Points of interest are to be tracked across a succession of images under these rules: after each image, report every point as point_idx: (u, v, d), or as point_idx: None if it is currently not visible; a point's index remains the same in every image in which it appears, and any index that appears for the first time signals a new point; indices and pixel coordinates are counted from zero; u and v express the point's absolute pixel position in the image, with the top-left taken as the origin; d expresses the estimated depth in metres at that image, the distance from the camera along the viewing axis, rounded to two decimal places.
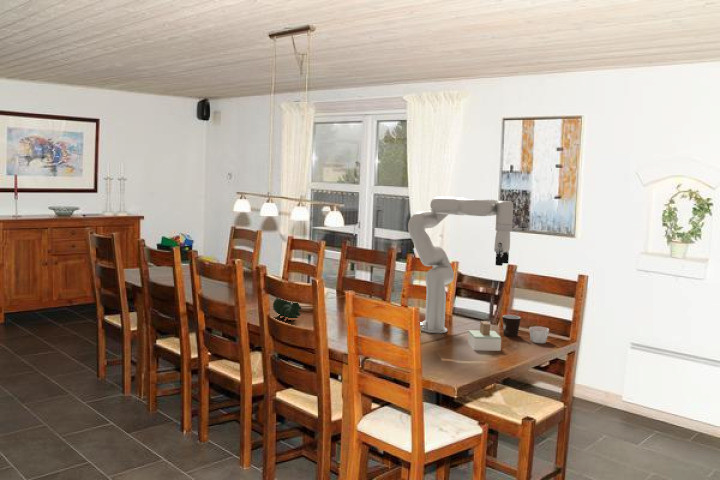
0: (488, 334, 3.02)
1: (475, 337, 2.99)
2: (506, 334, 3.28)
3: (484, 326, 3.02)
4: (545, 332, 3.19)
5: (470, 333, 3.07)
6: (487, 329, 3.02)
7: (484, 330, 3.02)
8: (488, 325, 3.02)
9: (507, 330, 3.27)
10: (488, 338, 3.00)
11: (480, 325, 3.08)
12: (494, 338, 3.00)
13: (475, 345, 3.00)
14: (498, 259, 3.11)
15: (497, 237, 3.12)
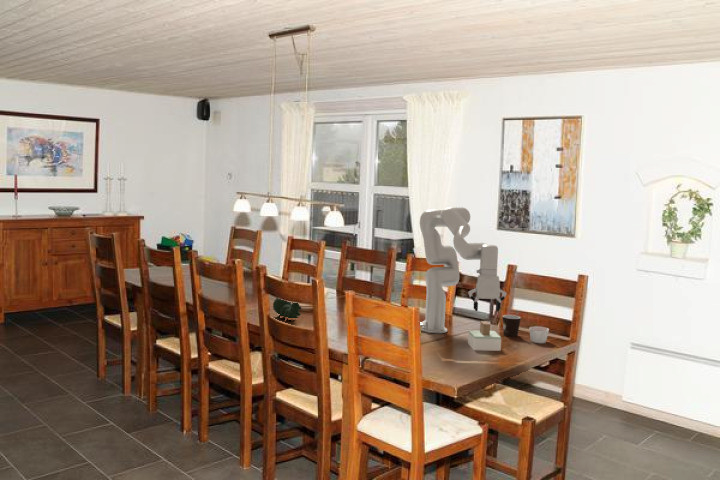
0: (488, 334, 3.02)
1: (475, 337, 2.99)
2: (506, 334, 3.28)
3: (484, 326, 3.02)
4: (545, 332, 3.19)
5: (470, 333, 3.07)
6: (487, 329, 3.02)
7: (484, 330, 3.02)
8: (488, 325, 3.02)
9: (507, 330, 3.27)
10: (488, 338, 3.00)
11: (480, 325, 3.08)
12: (494, 338, 3.00)
13: (475, 345, 3.00)
14: None
15: (499, 283, 3.02)
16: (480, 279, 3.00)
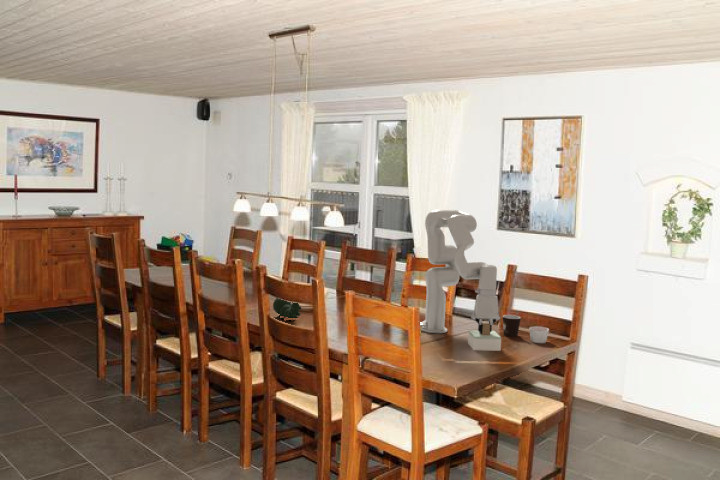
0: (488, 334, 3.02)
1: (475, 337, 2.99)
2: (506, 334, 3.28)
3: (484, 326, 3.02)
4: (545, 332, 3.19)
5: (470, 333, 3.07)
6: (487, 329, 3.02)
7: (484, 330, 3.02)
8: (488, 325, 3.02)
9: (507, 330, 3.27)
10: (488, 338, 3.00)
11: None
12: (494, 338, 3.00)
13: (475, 345, 3.00)
14: None
15: (497, 303, 3.03)
16: (479, 299, 3.01)
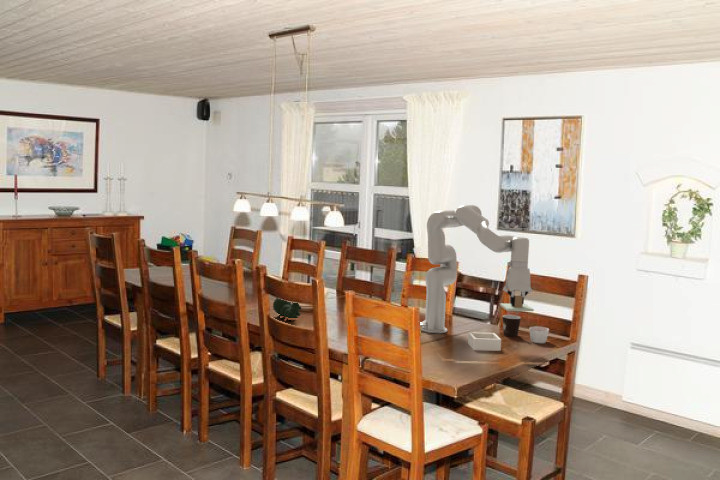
0: (520, 306, 3.03)
1: (508, 309, 3.00)
2: (506, 334, 3.28)
3: (516, 298, 3.02)
4: (545, 332, 3.19)
5: (502, 306, 3.08)
6: (519, 301, 3.03)
7: (516, 302, 3.03)
8: (520, 297, 3.02)
9: (507, 330, 3.27)
10: (521, 310, 3.00)
11: None
12: (527, 310, 3.00)
13: (475, 345, 3.00)
14: None
15: None
16: (511, 271, 3.02)
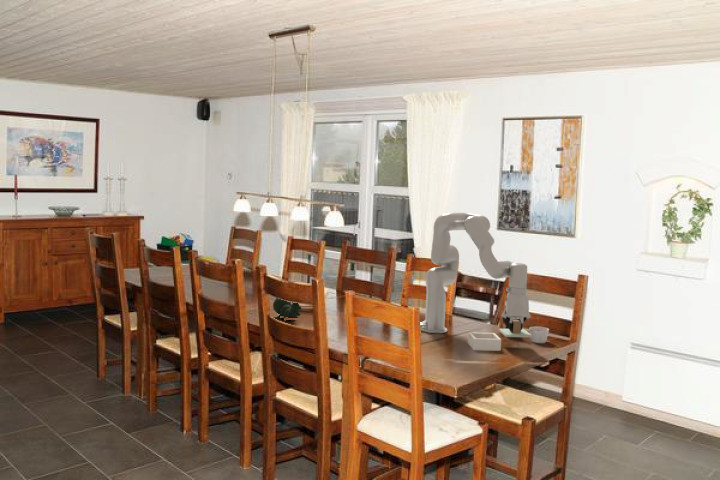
0: (519, 332, 3.04)
1: (506, 335, 3.01)
2: None
3: (515, 324, 3.03)
4: (545, 332, 3.19)
5: (500, 331, 3.09)
6: (518, 327, 3.04)
7: (515, 328, 3.04)
8: (519, 323, 3.04)
9: None
10: (519, 336, 3.01)
11: None
12: (525, 336, 3.01)
13: (475, 345, 3.00)
14: None
15: (528, 301, 3.04)
16: (509, 297, 3.03)
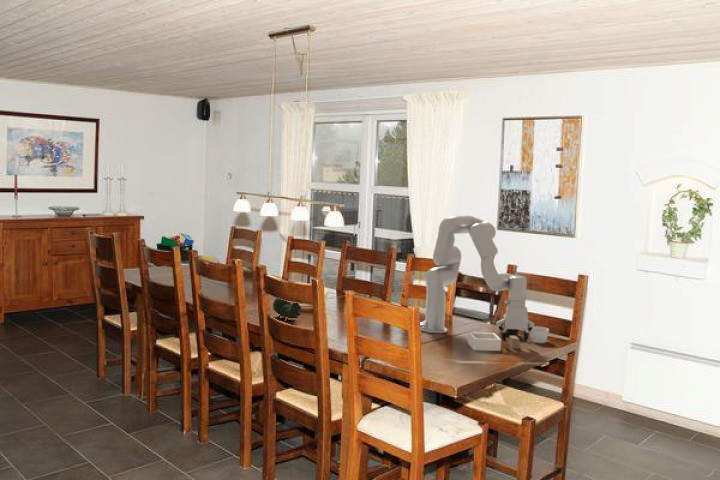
0: None
1: None
2: (506, 334, 3.28)
3: (513, 341, 3.04)
4: (545, 332, 3.19)
5: None
6: (516, 344, 3.05)
7: (513, 345, 3.05)
8: (517, 340, 3.04)
9: (507, 330, 3.27)
10: None
11: (509, 339, 3.10)
12: None
13: (475, 345, 3.00)
14: None
15: (527, 313, 3.05)
16: (509, 310, 3.04)
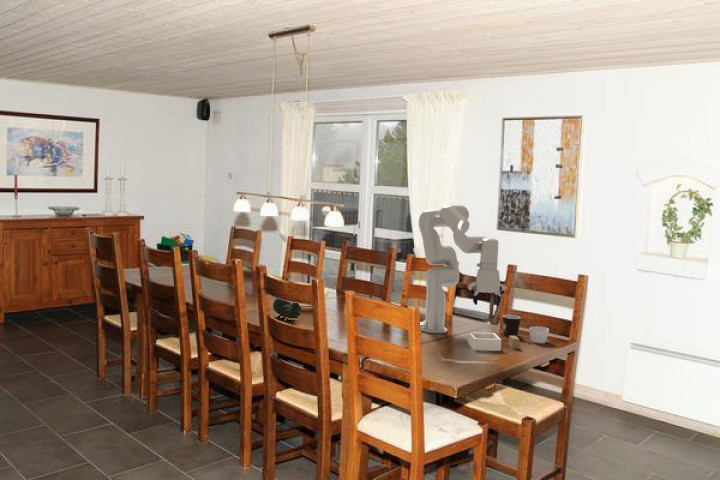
0: None
1: None
2: (506, 334, 3.28)
3: (513, 341, 3.04)
4: (545, 332, 3.19)
5: None
6: (516, 344, 3.05)
7: (513, 345, 3.05)
8: (517, 340, 3.04)
9: (507, 330, 3.27)
10: None
11: (509, 339, 3.10)
12: None
13: (475, 345, 3.00)
14: None
15: (499, 276, 3.02)
16: (480, 273, 3.00)
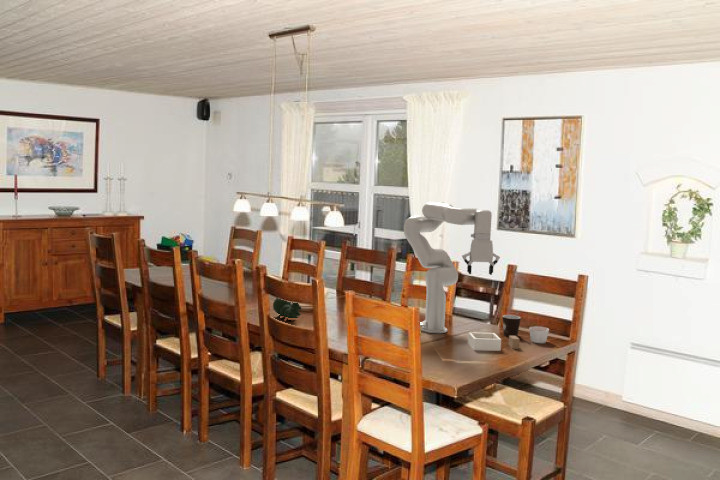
0: None
1: None
2: (506, 334, 3.28)
3: (513, 341, 3.04)
4: (545, 332, 3.19)
5: None
6: (516, 344, 3.05)
7: (513, 345, 3.05)
8: (517, 340, 3.04)
9: (507, 330, 3.27)
10: None
11: (509, 339, 3.10)
12: None
13: (475, 345, 3.00)
14: None
15: (492, 247, 3.11)
16: (474, 243, 3.10)
